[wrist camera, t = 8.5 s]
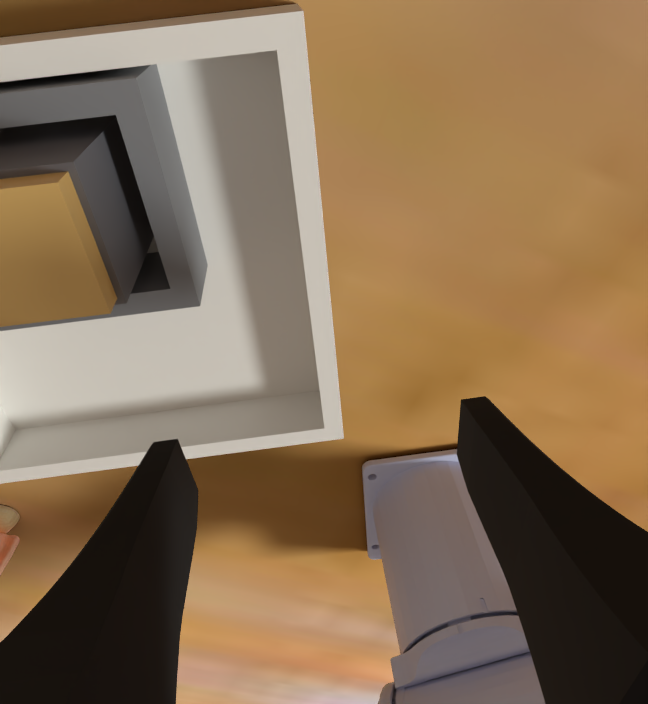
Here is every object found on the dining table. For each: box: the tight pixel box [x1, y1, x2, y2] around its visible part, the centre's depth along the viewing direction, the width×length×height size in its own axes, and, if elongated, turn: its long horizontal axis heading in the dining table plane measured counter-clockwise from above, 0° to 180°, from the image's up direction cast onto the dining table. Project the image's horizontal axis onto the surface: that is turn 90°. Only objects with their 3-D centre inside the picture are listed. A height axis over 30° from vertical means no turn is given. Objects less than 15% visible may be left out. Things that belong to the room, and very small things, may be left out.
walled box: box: [0, 4, 344, 484], centre depth 19 cm, size 16×16×4 cm
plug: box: [0, 115, 154, 327], centre depth 15 cm, size 4×4×6 cm
